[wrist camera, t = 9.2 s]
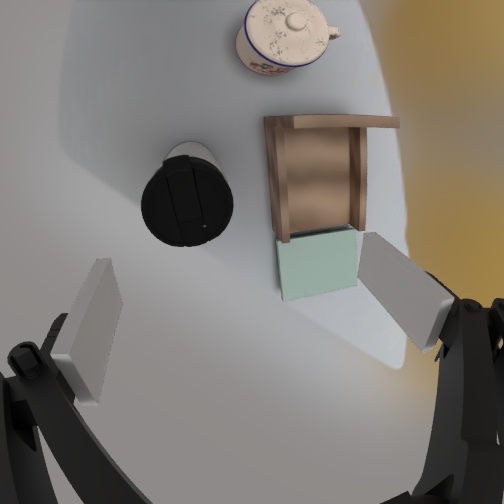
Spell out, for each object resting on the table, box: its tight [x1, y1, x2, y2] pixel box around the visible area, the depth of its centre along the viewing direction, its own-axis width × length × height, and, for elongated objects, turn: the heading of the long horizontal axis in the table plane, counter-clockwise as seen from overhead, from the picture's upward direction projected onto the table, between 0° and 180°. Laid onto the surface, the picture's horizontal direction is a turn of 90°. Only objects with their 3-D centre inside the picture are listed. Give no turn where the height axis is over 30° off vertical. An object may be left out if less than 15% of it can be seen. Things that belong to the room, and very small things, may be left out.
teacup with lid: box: [236, 0, 341, 75], centre depth 26 cm, size 12×9×12 cm
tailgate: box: [276, 228, 357, 302], centre depth 43 cm, size 2×12×9 cm
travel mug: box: [141, 142, 233, 247], centre depth 27 cm, size 6×7×20 cm
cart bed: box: [264, 114, 400, 244], centre depth 34 cm, size 16×12×12 cm
